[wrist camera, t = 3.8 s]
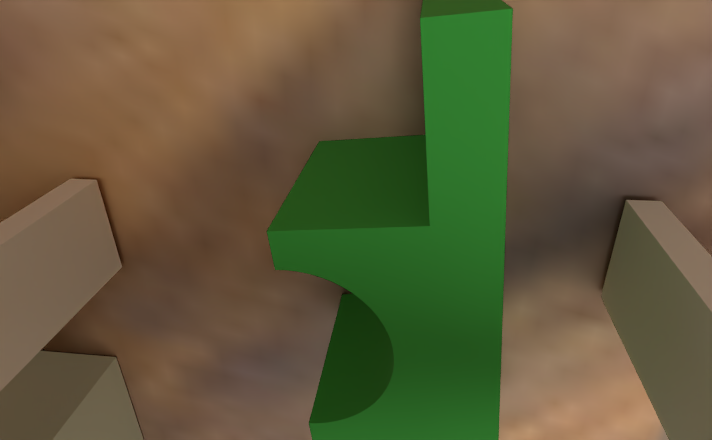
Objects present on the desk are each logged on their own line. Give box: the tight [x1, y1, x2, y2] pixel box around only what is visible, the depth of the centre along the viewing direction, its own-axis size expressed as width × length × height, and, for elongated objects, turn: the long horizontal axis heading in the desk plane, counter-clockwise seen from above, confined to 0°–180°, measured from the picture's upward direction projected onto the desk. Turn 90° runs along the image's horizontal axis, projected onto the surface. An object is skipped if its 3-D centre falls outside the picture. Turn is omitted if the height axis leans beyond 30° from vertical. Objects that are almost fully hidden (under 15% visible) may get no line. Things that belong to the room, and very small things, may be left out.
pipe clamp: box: [267, 0, 513, 440], centre depth 11 cm, size 11×4×5 cm, turn 6°
